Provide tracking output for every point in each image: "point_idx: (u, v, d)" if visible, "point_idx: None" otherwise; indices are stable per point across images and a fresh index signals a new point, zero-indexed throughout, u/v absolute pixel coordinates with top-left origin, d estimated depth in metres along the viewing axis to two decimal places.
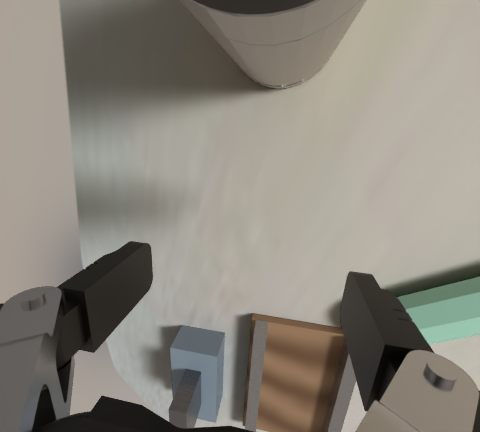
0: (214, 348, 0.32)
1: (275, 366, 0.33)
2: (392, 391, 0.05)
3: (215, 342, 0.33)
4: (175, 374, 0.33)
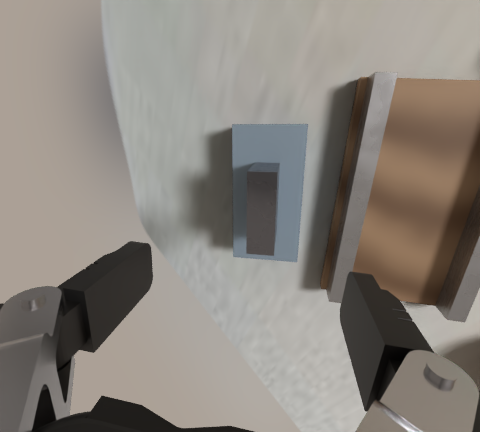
0: None
1: (387, 167, 0.22)
2: (392, 391, 0.05)
3: None
4: (238, 179, 0.22)
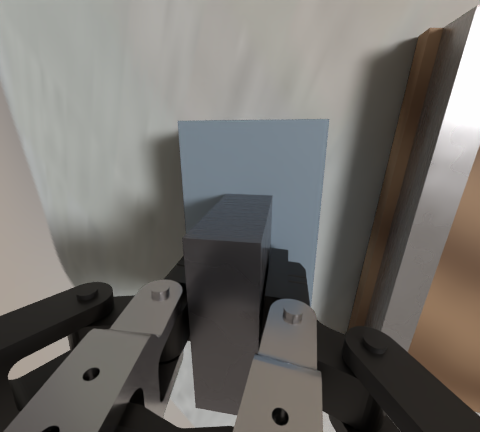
0: None
1: (468, 199, 0.12)
2: (265, 341, 0.06)
3: None
4: (196, 223, 0.12)
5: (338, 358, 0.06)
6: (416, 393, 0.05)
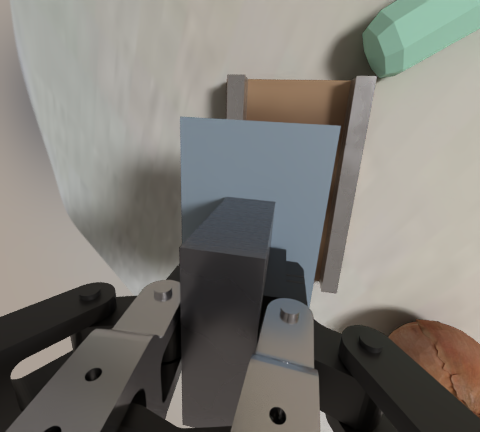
0: None
1: None
2: (262, 340, 0.06)
3: None
4: (193, 225, 0.11)
5: (335, 357, 0.06)
6: (412, 392, 0.05)
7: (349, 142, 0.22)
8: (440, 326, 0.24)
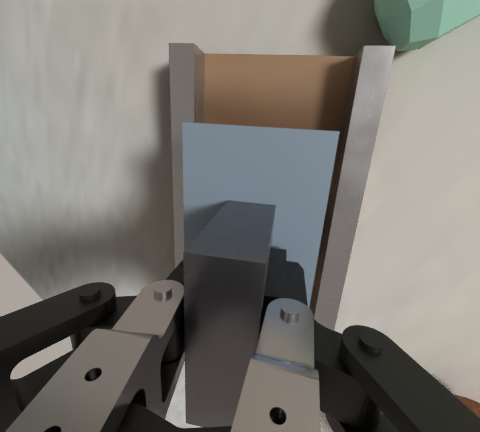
0: None
1: None
2: (262, 340, 0.06)
3: None
4: (195, 228, 0.12)
5: (335, 357, 0.06)
6: (412, 391, 0.05)
7: (350, 149, 0.15)
8: (475, 411, 0.17)
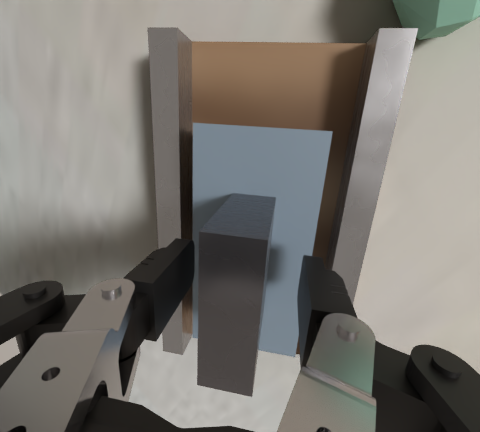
0: None
1: None
2: (314, 354, 0.05)
3: None
4: (203, 218, 0.13)
5: (404, 381, 0.05)
6: None
7: (361, 152, 0.12)
8: None
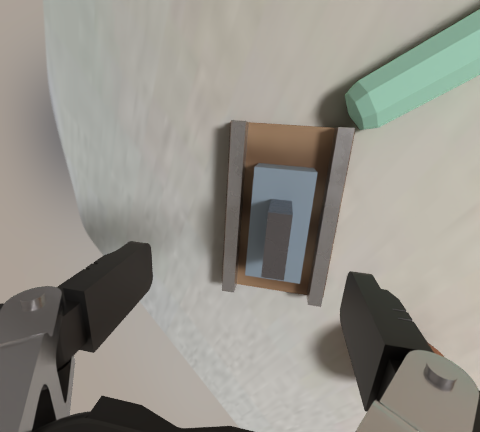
0: (309, 170, 0.25)
1: None
2: (392, 391, 0.05)
3: (307, 169, 0.26)
4: (255, 211, 0.26)
5: None
6: None
7: (332, 180, 0.26)
8: None
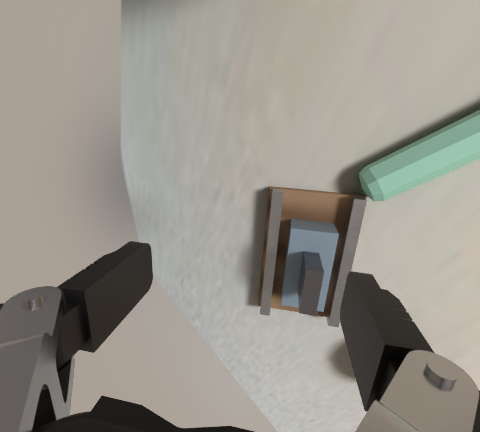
0: (332, 230, 0.34)
1: None
2: (392, 391, 0.05)
3: (330, 227, 0.35)
4: (291, 259, 0.35)
5: None
6: None
7: (349, 235, 0.35)
8: None
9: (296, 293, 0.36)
